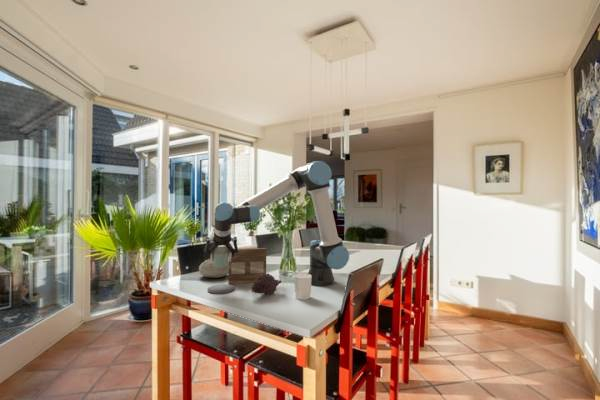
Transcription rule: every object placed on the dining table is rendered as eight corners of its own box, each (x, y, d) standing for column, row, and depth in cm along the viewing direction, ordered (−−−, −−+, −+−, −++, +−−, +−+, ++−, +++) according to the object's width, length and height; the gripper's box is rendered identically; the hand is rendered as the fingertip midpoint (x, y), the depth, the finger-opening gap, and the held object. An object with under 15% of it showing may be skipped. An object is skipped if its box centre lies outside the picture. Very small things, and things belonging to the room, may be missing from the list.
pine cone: (258, 302, 129) (258, 279, 129) (243, 297, 136) (243, 275, 136) (285, 293, 143) (286, 272, 143) (271, 289, 149) (271, 269, 149)
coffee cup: (225, 272, 142) (225, 247, 142) (208, 271, 144) (208, 246, 144) (232, 268, 150) (232, 244, 151) (216, 267, 152) (217, 244, 152)
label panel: (228, 281, 163) (228, 248, 163) (265, 279, 167) (265, 247, 167) (228, 284, 157) (228, 250, 157) (266, 282, 161) (266, 249, 161)
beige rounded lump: (233, 273, 182) (233, 256, 182) (226, 281, 164) (227, 262, 164) (204, 273, 182) (204, 256, 182) (194, 280, 164) (194, 262, 164)
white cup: (294, 294, 140) (294, 273, 140) (311, 295, 140) (311, 273, 140) (293, 300, 132) (294, 277, 133) (311, 300, 132) (311, 278, 132)
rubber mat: (239, 290, 147) (239, 288, 147) (215, 295, 138) (215, 293, 138) (226, 284, 156) (226, 282, 156) (202, 289, 148) (202, 287, 148)
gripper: (197, 238, 129) (198, 267, 145) (246, 237, 136) (242, 265, 151) (198, 225, 135) (198, 254, 150) (245, 224, 141) (241, 253, 156)
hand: (220, 260), depth 150 cm, fingers closed on coffee cup, 8 cm apart
